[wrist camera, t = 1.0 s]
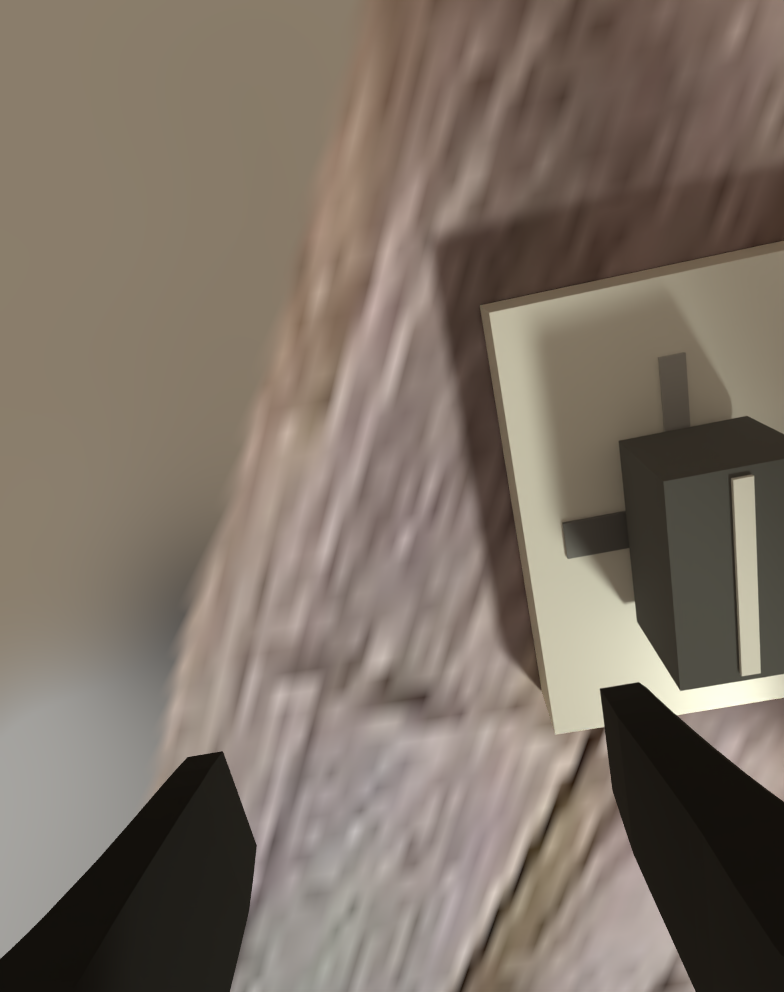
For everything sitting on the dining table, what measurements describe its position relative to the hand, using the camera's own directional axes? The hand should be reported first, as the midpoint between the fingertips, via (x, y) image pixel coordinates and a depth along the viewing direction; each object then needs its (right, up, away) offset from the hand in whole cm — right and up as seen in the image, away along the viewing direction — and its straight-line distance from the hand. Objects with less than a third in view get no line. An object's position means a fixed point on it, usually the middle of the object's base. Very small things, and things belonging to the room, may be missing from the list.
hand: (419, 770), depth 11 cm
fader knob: (+7, +4, +6) cm, 10 cm away
